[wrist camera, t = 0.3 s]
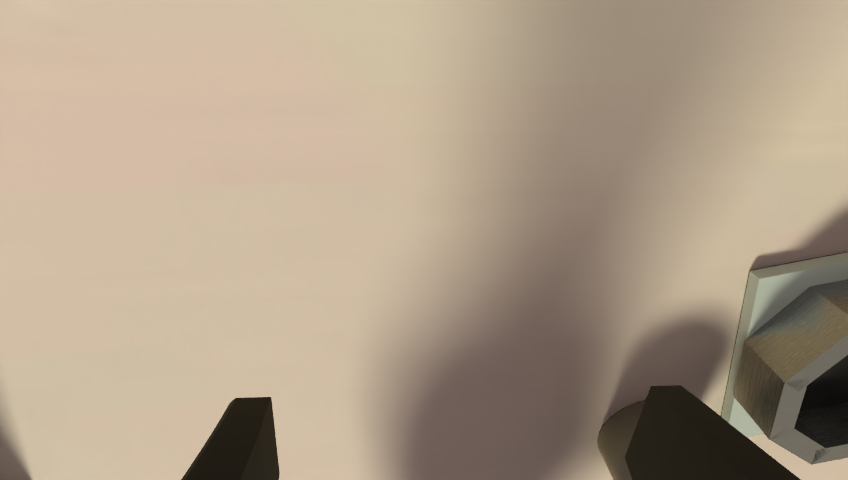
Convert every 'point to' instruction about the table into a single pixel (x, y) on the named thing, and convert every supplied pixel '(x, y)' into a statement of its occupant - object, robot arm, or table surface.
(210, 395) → the table surface
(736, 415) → the plate
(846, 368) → the octagonal ring mount
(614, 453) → the cap
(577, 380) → the table surface
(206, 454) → the robot arm
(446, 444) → the table surface
